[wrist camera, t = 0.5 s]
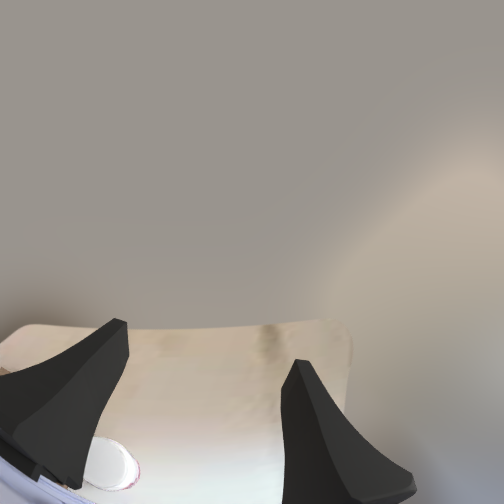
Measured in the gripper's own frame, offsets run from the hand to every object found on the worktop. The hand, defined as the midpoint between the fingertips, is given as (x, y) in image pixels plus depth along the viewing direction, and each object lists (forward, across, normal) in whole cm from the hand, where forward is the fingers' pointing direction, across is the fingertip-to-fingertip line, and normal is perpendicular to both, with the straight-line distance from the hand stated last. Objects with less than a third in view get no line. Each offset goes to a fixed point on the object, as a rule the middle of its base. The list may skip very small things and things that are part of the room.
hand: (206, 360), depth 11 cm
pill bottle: (-1, +7, +19) cm, 20 cm away
